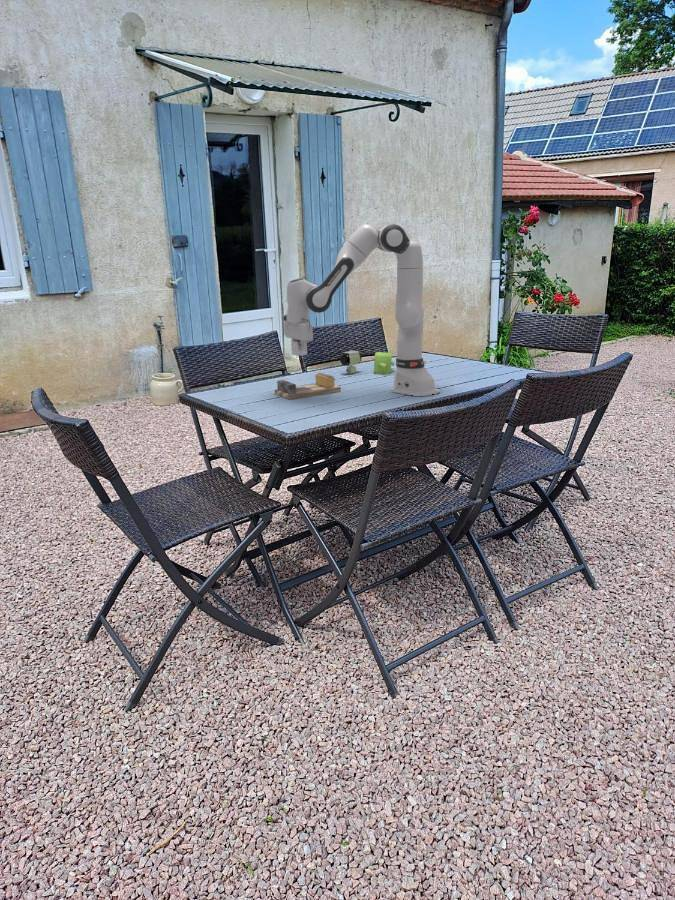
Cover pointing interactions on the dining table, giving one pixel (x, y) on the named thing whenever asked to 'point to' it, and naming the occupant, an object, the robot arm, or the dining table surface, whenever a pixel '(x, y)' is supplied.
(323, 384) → the yellow orange block
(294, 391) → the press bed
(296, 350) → the housing
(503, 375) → the dining table surface
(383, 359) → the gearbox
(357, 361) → the pneumatic valve
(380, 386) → the dining table surface
